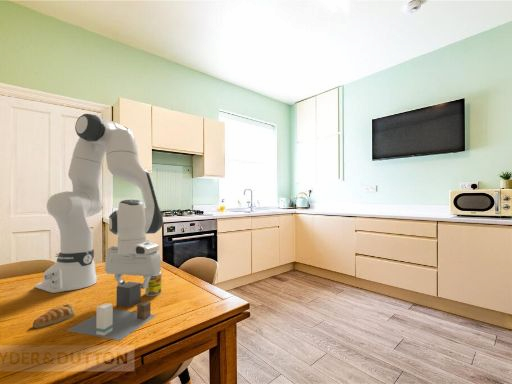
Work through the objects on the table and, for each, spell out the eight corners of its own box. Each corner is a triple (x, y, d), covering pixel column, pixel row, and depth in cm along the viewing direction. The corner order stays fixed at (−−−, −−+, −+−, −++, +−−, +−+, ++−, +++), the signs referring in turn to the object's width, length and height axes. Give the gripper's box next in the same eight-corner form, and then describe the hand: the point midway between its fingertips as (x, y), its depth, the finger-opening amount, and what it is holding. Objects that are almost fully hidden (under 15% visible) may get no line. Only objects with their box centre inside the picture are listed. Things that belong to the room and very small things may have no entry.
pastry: (41, 332, 67) (41, 318, 67) (26, 328, 69) (26, 314, 70) (77, 317, 76) (77, 304, 76) (63, 313, 78) (63, 301, 78)
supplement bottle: (146, 298, 89) (147, 269, 90) (144, 293, 94) (144, 266, 94) (162, 294, 93) (163, 267, 93) (159, 290, 97) (159, 264, 97)
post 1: (96, 334, 65) (96, 307, 65) (104, 329, 67) (105, 303, 68) (104, 335, 64) (104, 308, 64) (112, 330, 67) (112, 304, 67)
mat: (65, 331, 67) (65, 330, 67) (109, 309, 80) (109, 308, 80) (119, 342, 62) (119, 340, 62) (156, 316, 75) (156, 315, 75)
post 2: (137, 318, 73) (137, 304, 73) (143, 314, 76) (143, 301, 76) (144, 319, 73) (144, 305, 73) (150, 315, 75) (150, 302, 75)
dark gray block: (116, 306, 82) (116, 286, 83) (128, 300, 87) (128, 281, 88) (129, 308, 81) (129, 288, 81) (140, 302, 86) (140, 282, 86)
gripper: (99, 248, 85) (100, 288, 84) (151, 249, 80) (152, 292, 79) (114, 244, 91) (115, 282, 91) (163, 245, 86) (164, 285, 85)
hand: (132, 287), depth 85 cm, fingers open, 8 cm apart
